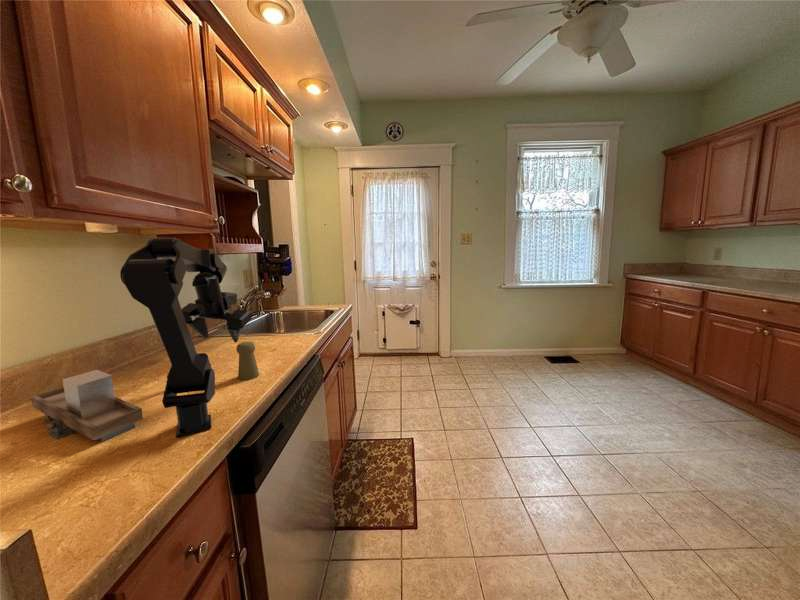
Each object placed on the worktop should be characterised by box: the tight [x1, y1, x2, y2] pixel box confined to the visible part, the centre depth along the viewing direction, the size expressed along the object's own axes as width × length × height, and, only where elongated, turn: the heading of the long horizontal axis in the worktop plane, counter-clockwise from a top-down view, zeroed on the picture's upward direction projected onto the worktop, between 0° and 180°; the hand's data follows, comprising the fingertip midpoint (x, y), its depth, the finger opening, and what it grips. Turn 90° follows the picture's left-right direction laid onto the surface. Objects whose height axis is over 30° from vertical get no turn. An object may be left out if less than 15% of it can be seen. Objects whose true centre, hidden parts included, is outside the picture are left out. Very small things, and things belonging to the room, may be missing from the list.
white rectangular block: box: [62, 369, 116, 419], centre depth 72 cm, size 6×6×8 cm
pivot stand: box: [44, 414, 136, 443], centre depth 74 cm, size 25×13×3 cm, turn 67°
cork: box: [236, 341, 260, 381], centre depth 99 cm, size 6×6×11 cm
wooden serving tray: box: [30, 386, 144, 441], centre depth 74 cm, size 26×9×3 cm, turn 67°
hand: (221, 339), depth 94 cm, fingers open, 9 cm apart
